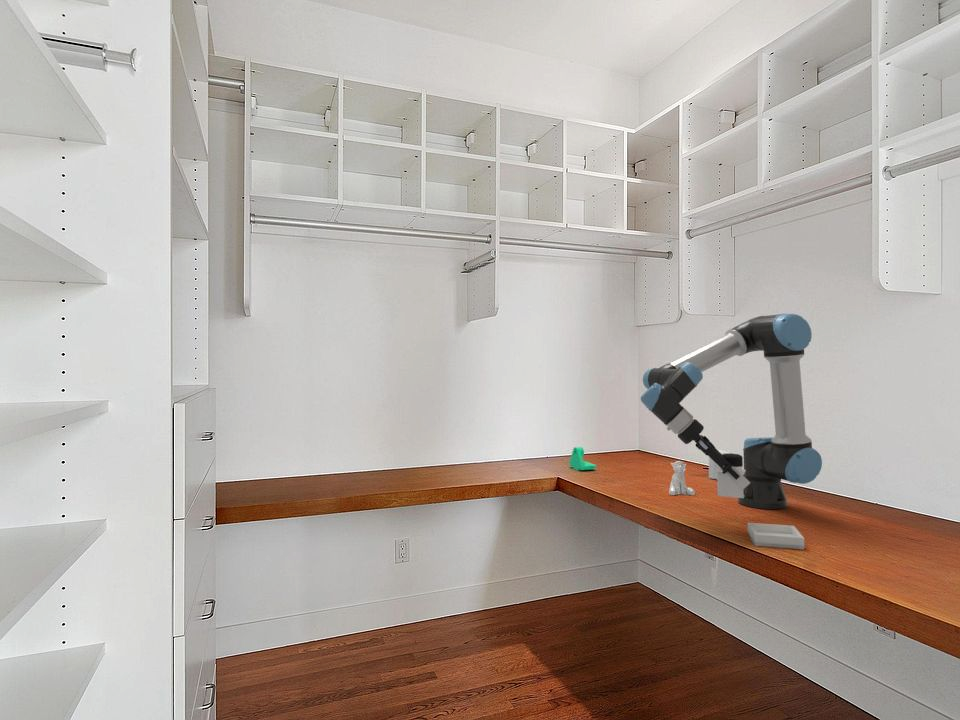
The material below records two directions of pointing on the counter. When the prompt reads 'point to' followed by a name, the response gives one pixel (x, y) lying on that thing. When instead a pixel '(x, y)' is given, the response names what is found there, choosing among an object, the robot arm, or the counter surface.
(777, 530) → the grey square tray
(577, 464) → the green angular piece
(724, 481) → the medicine bottle
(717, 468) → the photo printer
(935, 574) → the counter surface
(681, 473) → the white creature statuette
